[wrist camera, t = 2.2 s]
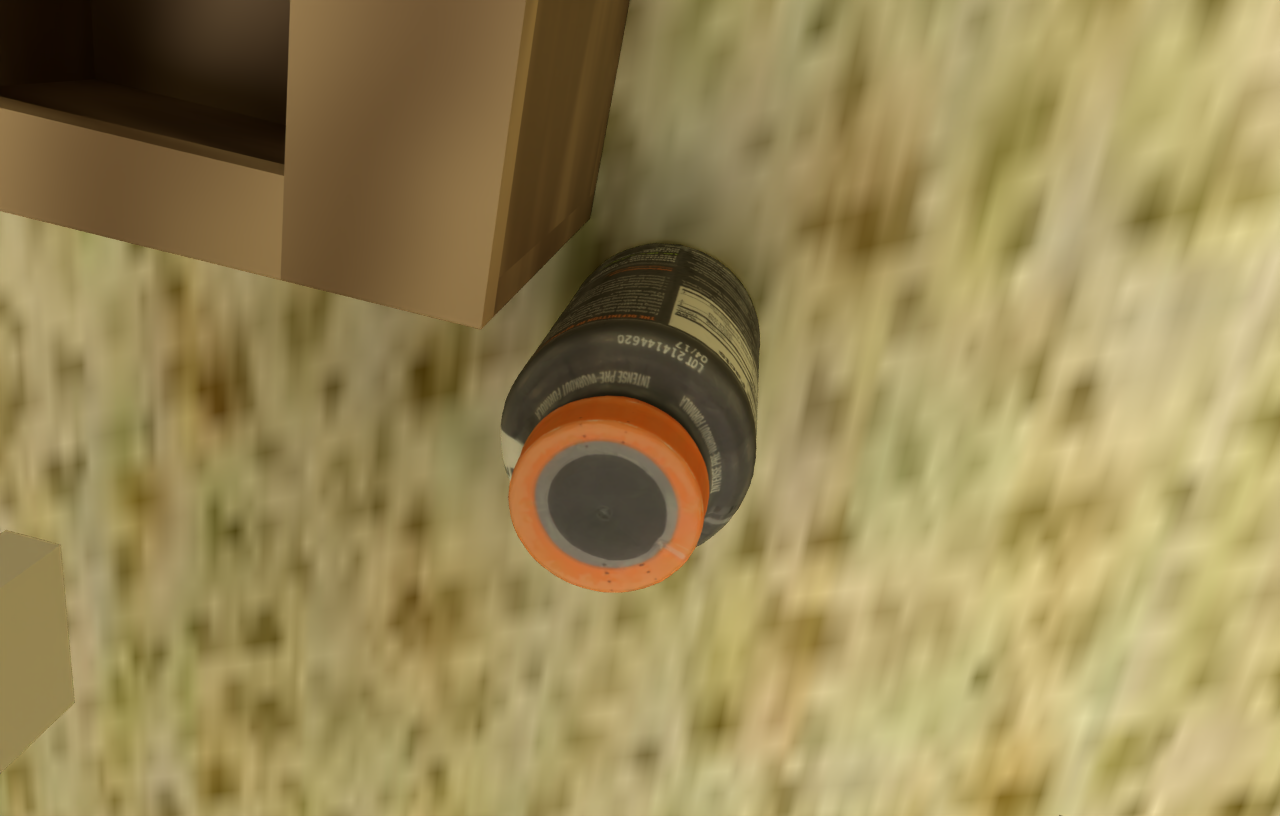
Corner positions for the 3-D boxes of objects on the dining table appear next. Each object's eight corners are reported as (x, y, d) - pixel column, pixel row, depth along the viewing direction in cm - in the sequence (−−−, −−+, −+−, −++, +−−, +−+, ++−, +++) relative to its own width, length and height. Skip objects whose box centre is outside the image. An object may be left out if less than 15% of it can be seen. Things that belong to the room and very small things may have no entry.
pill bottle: (566, 406, 29) (453, 611, 19) (578, 228, 27) (455, 352, 16) (746, 432, 29) (730, 658, 18) (775, 253, 26) (775, 397, 16)
